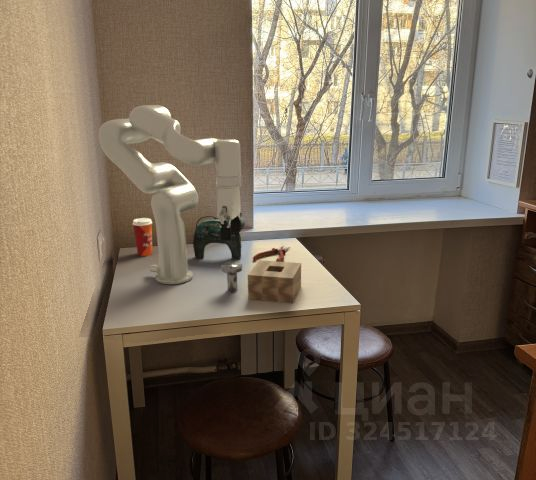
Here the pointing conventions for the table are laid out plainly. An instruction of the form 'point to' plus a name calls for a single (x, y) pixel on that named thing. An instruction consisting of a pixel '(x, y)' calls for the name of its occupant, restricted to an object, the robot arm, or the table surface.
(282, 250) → the pliers
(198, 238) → the ceramic cat
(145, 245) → the paper cup
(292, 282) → the socket block
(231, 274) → the grey metal rounded piece
